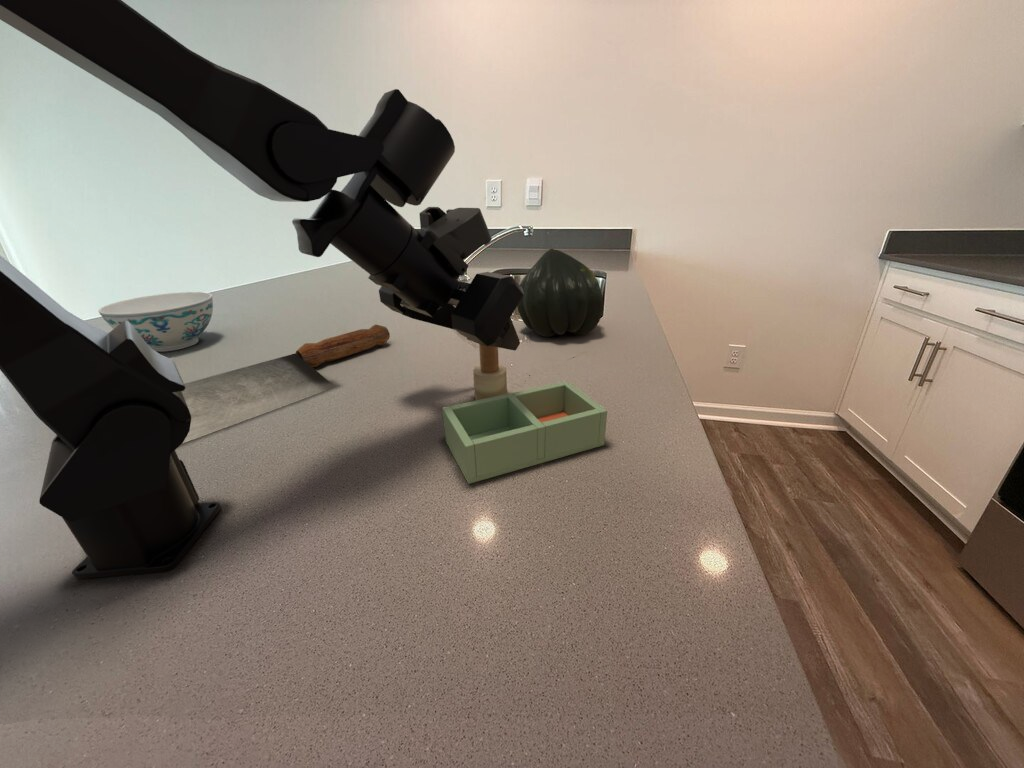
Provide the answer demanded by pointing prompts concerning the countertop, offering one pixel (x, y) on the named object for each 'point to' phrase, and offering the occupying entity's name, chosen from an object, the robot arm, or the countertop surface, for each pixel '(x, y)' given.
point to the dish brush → (489, 374)
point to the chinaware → (164, 318)
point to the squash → (560, 296)
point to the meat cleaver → (270, 382)
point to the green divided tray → (522, 429)
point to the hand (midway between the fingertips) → (490, 336)
